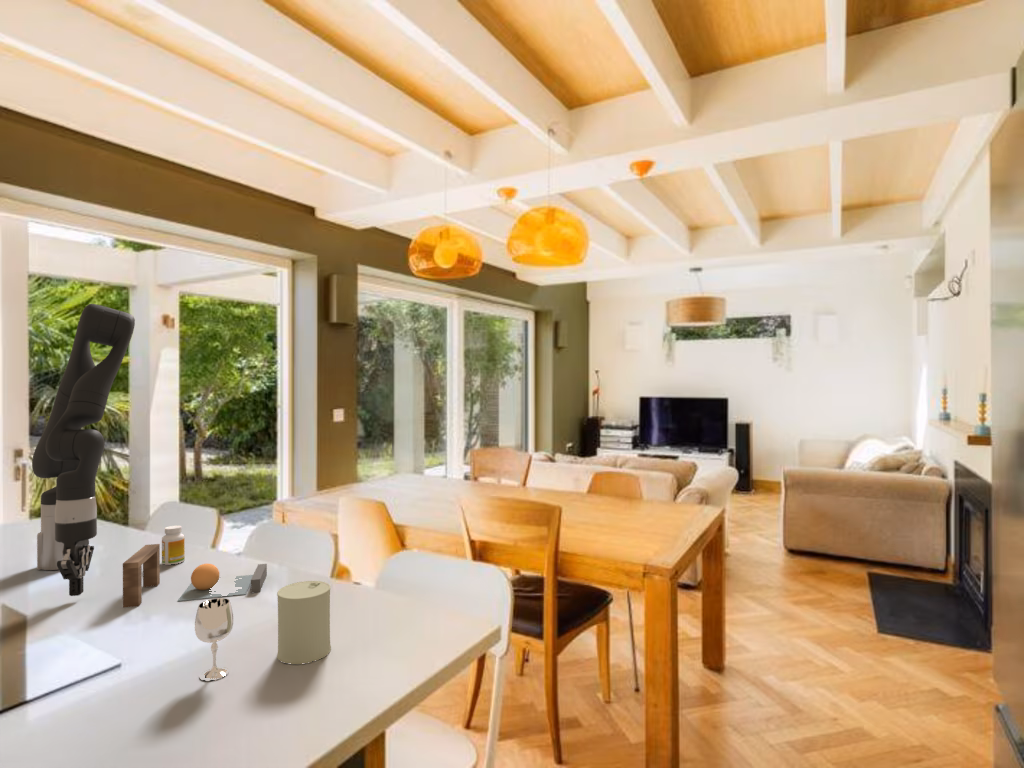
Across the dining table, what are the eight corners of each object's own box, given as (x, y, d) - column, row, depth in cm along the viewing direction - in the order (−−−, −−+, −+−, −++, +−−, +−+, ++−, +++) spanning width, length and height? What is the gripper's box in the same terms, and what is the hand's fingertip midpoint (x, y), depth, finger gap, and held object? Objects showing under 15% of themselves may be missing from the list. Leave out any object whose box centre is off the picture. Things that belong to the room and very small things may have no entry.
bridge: (122, 607, 124) (122, 563, 124) (145, 584, 138) (145, 544, 138) (138, 606, 125) (138, 562, 125) (159, 583, 139) (159, 543, 139)
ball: (214, 565, 133) (216, 590, 133) (221, 558, 139) (223, 583, 139) (186, 569, 132) (188, 595, 132) (194, 563, 138) (196, 587, 137)
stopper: (250, 592, 133) (250, 580, 133) (258, 576, 144) (258, 564, 144) (260, 591, 133) (260, 579, 133) (266, 575, 145) (266, 563, 145)
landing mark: (177, 601, 128) (177, 600, 128) (193, 580, 141) (193, 580, 141) (245, 594, 132) (245, 593, 132) (254, 575, 145) (254, 574, 145)
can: (341, 645, 106) (341, 581, 106) (308, 668, 97) (308, 598, 97) (300, 638, 109) (300, 575, 109) (265, 660, 100) (265, 592, 100)
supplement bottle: (189, 559, 158) (188, 524, 158) (175, 565, 153) (175, 529, 153) (171, 559, 159) (170, 524, 159) (157, 565, 153) (156, 529, 153)
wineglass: (194, 687, 92) (194, 612, 92) (195, 671, 97) (195, 600, 97) (234, 678, 94) (233, 606, 94) (233, 663, 99) (232, 594, 99)
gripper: (82, 523, 123) (83, 603, 123) (107, 510, 135) (107, 583, 135) (41, 526, 121) (41, 607, 121) (70, 512, 133) (70, 586, 133)
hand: (76, 594), depth 128 cm, fingers closed
